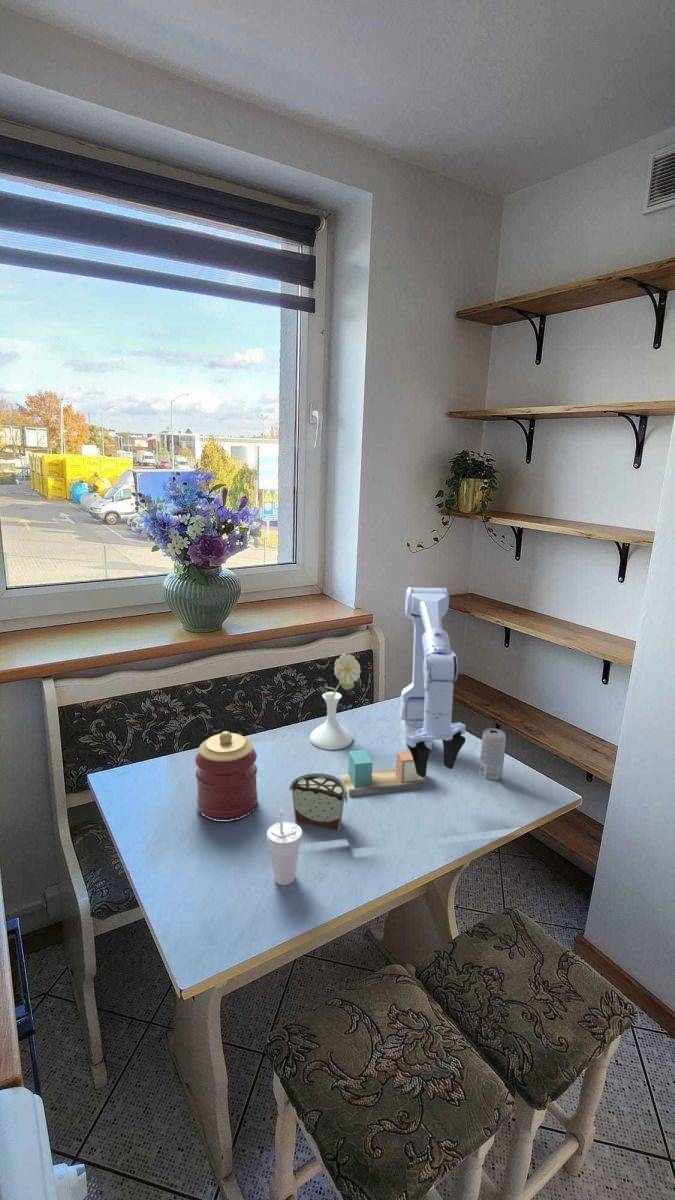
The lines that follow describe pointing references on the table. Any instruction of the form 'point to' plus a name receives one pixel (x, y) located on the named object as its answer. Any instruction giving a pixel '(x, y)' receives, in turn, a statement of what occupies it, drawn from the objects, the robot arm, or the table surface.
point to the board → (379, 784)
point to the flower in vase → (331, 731)
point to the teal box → (360, 768)
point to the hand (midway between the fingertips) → (434, 771)
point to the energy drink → (492, 754)
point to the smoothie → (284, 849)
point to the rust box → (407, 768)
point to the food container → (319, 800)
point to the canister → (226, 776)
